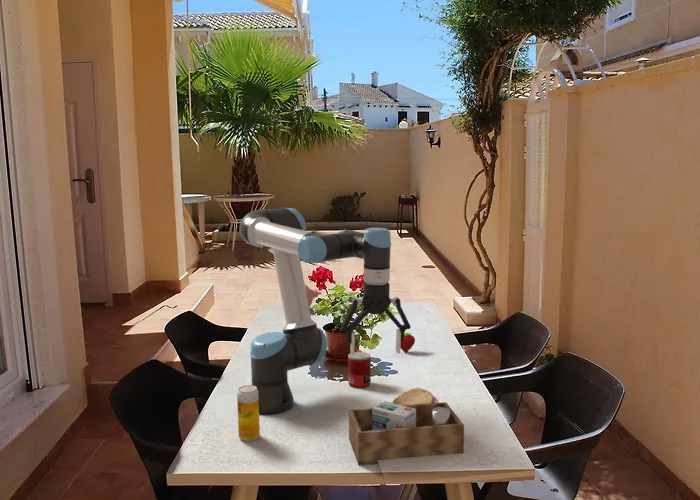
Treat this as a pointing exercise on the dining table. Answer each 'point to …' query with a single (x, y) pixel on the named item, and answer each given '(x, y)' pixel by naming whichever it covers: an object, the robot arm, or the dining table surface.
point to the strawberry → (407, 342)
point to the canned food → (359, 370)
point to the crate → (404, 436)
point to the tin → (440, 416)
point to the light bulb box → (393, 416)
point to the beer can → (248, 413)
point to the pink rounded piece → (311, 294)
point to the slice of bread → (414, 397)
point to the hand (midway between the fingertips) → (375, 352)
